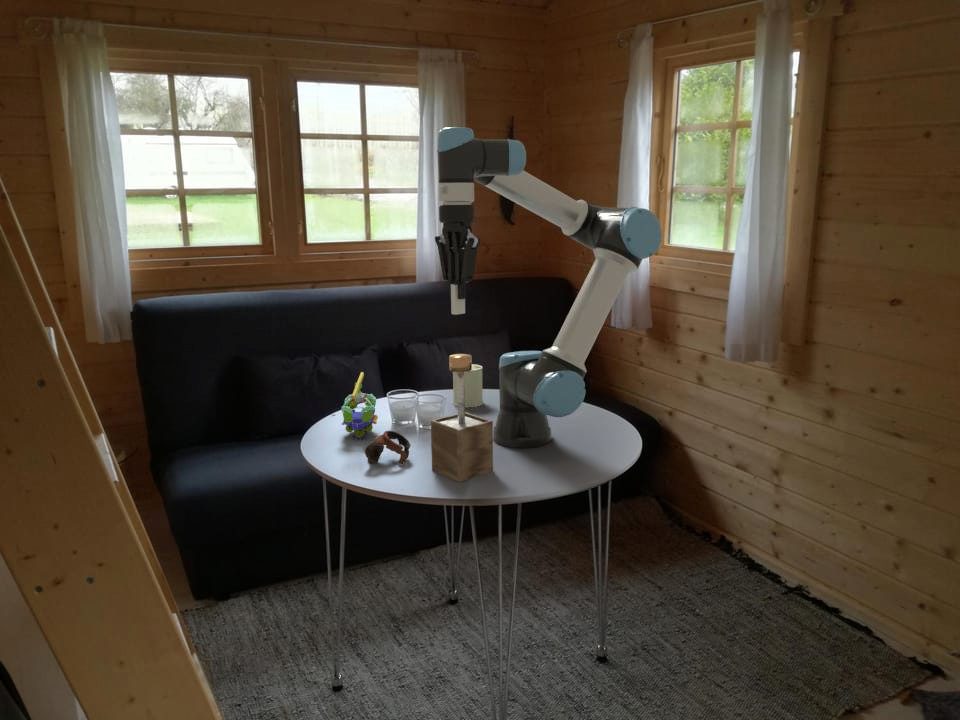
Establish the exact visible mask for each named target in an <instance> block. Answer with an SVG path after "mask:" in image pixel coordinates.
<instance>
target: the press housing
mask: <svg viewBox="0 0 960 720" xmlns="http://www.w3.org/2000/svg"><path fill="white" fill-rule="evenodd" d="M465 416H466V417H469V418H472V419H475V420H478V421H482V422H484V423H480V424H476V425H473V426H469V427H465V428H462V429H457V428H454V427H451V426H448V425H446V424H443V423H440V422H441V421H445V420H449V419H453V418H457V417H458V413H455V414H450V415H446V416H443V417H439V418H434V419H431V420H430V439H431V440H430V442H431V444H430V446H431V471H433V472H435V473H438V474H440V475H442V476H444V477H446V478H449V479H452V480H453V481H456V482H458V483H461V482H464V481H467V480H470V479H473V478H477V477H479V476H482V475H485V474H489V473H491V472H493V471H494V444H493V443H494V442H493V441H494V439H493V429H494V427H493V424H494V422H493V420H490V419H487V418H484V417H482V416H479V415H476V414H472V413H469V412H466V411H465Z"/></svg>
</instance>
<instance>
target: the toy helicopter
mask: <svg viewBox="0 0 960 720" xmlns="http://www.w3.org/2000/svg"><path fill="white" fill-rule="evenodd" d="M364 376H365V373H364V372H363V371H361V372H360V374H359V377H358V379H357V382H355V383H354V389H353V392H352V394H348V396H347V397H345V399H344V403H343V406H342V405H341V413H342V417H343V421H342V423H341V425H342V426H345V431H346V432H347V433H353V438H354V439H355V440H359V439H361V440H364V439H365V438H366V434H367V432H368V433H369V432H371V431H373V424H374V425H376V424H377V423H378V422H377V420H378V418H379V415H377V414H375V412H376V408H375V407H376V404H377V398H376V396H374V395H373V393H370V394H368V393H363V392H362V391H361V389H362V387H363V384H362V382H363V379H364ZM359 403H364V405H365V406H362V407H361V406H360V407H358V405H359ZM356 409H361V411H356Z"/></svg>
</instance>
